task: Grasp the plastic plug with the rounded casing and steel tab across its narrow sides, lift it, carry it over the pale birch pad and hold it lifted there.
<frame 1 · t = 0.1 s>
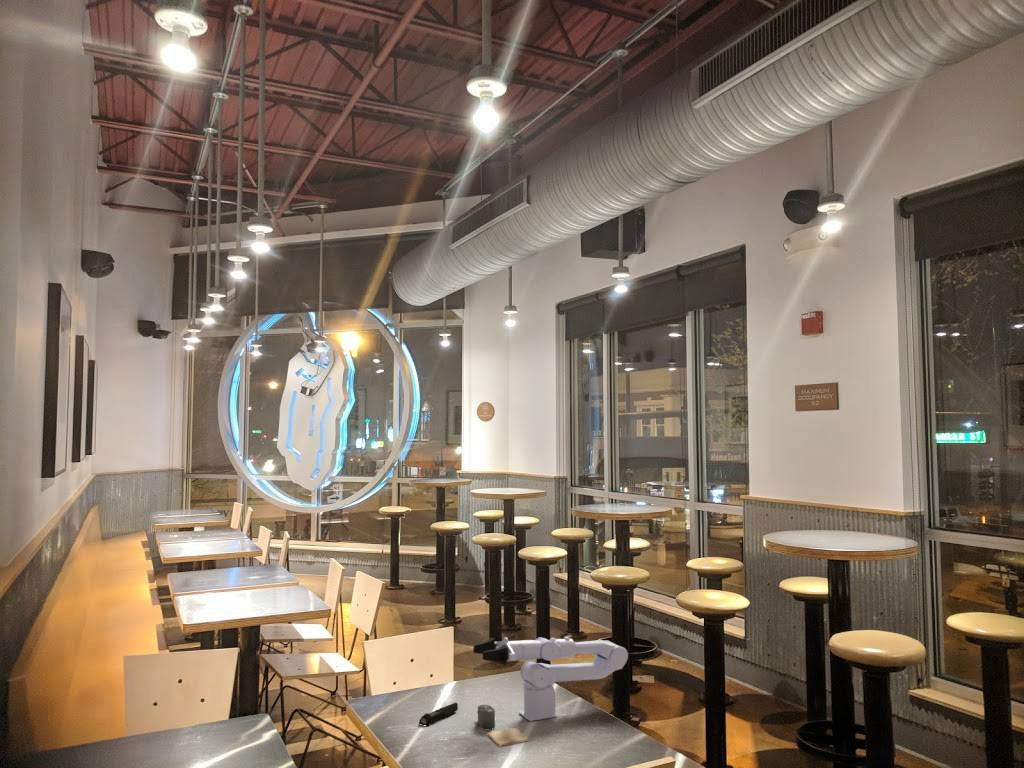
hand: (478, 652, 227), 22 cm above the table, tool horizontal, fingers open, 7 cm apart
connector: (486, 725, 226), on the table
pad: (507, 738, 216), on the table
electric trimmer: (438, 719, 232), on the table
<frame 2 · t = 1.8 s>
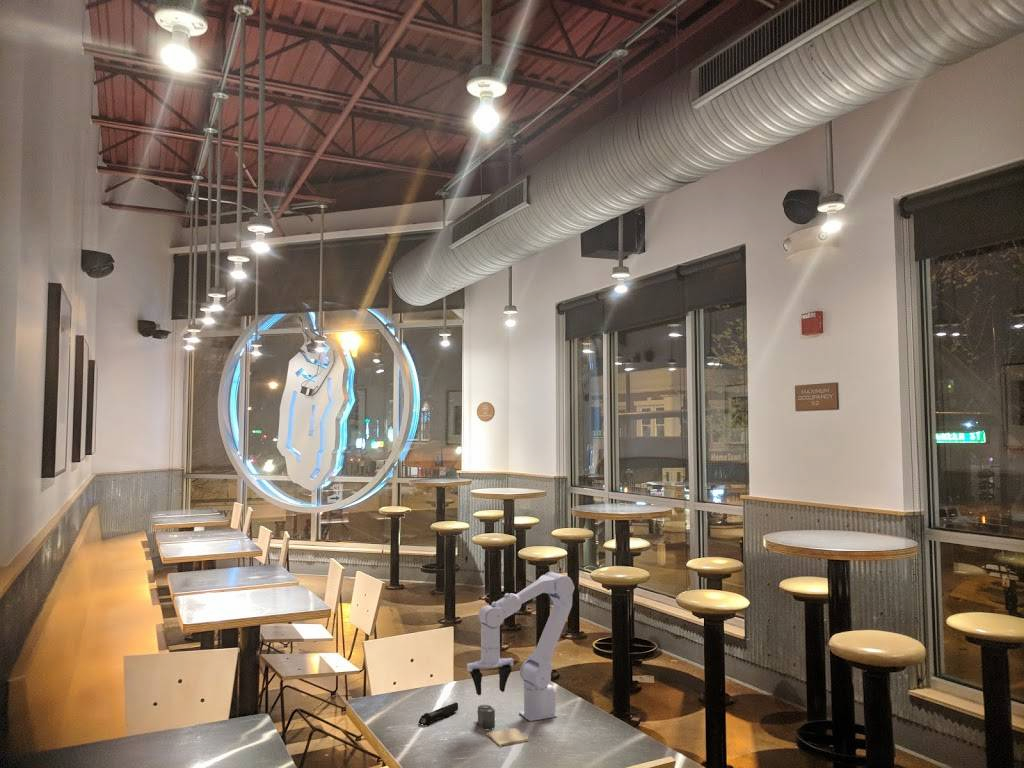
hand: (490, 692, 227), 9 cm above the table, tool pointing down, fingers open, 7 cm apart
nothing on the table moved.
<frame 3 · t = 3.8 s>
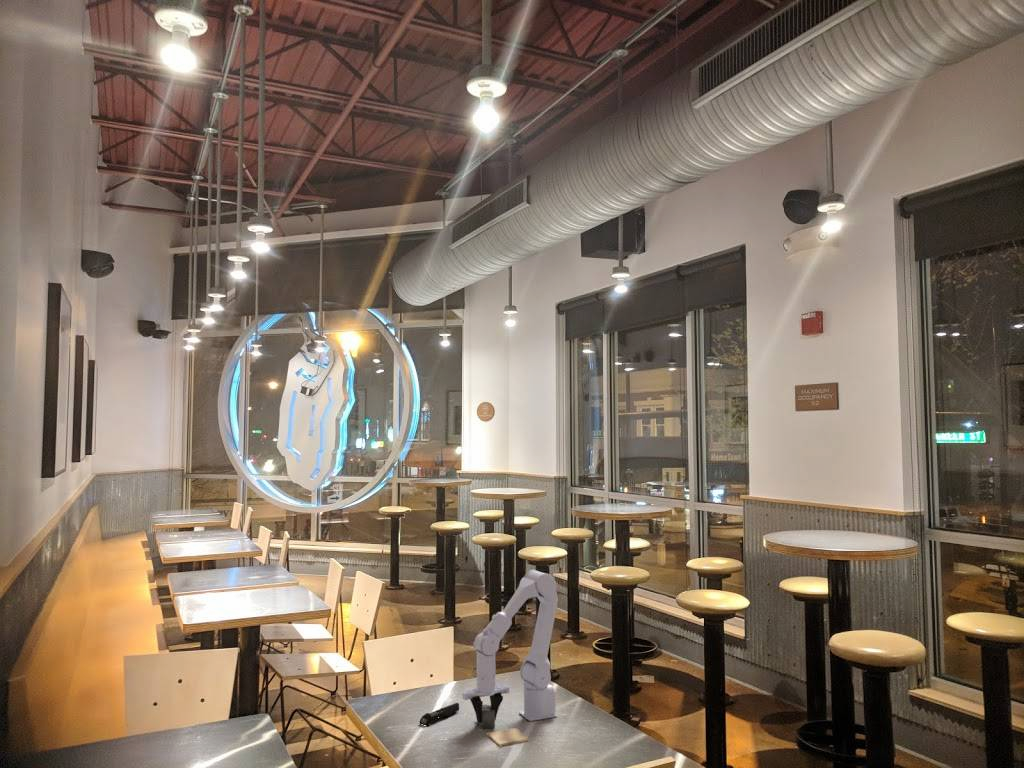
hand: (486, 720, 226), 1 cm above the table, tool pointing down, fingers closed on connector, 4 cm apart
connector: (486, 725, 226), on the table, touching gripper
everything else where it was.
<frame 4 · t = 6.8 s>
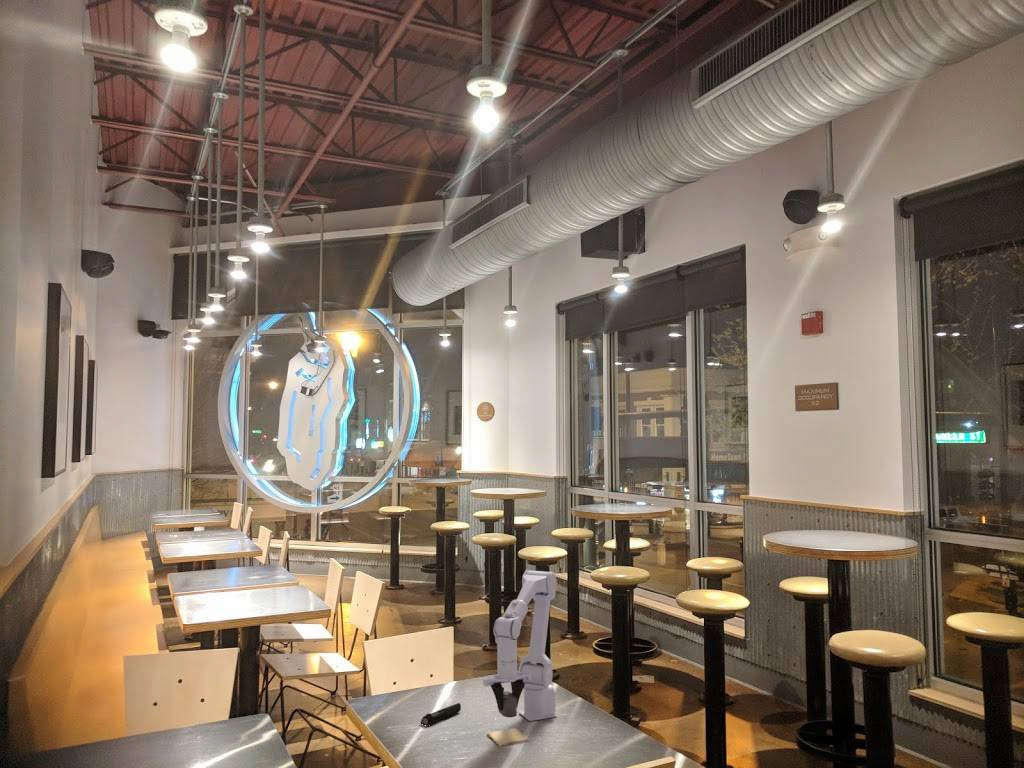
hand: (507, 708, 217), 8 cm above the table, tool pointing down, fingers closed on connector, 4 cm apart
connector: (507, 713, 217), point 7 cm above the table, touching gripper
everything else where it was.
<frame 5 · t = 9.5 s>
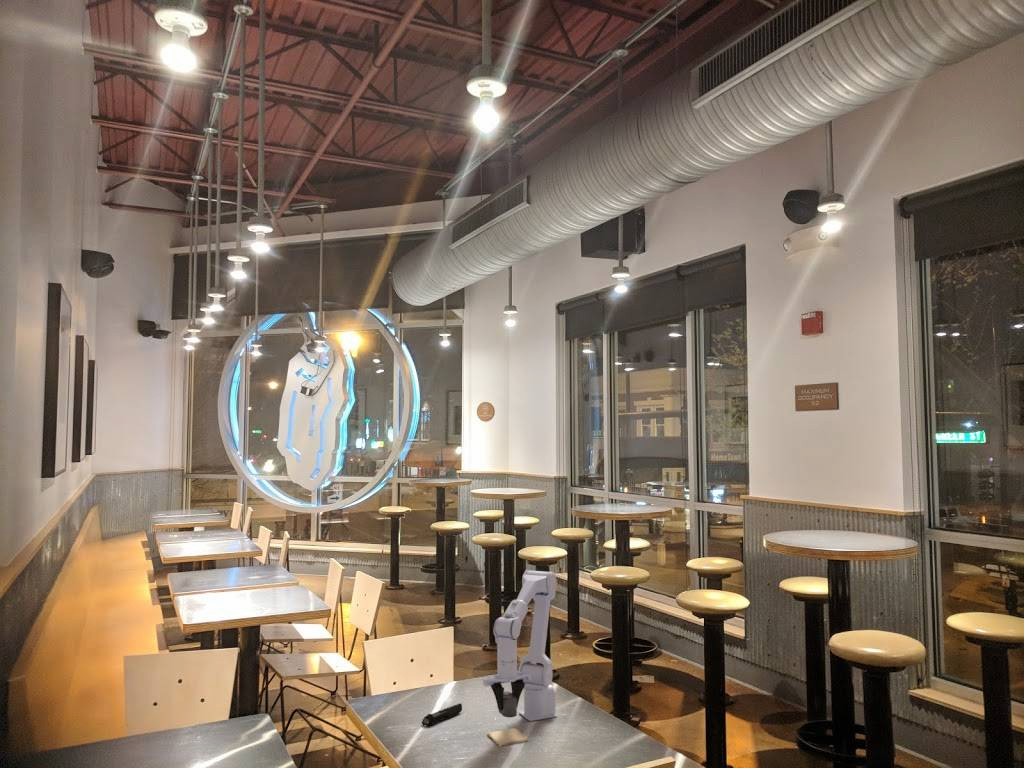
hand: (507, 708, 217), 8 cm above the table, tool pointing down, fingers closed on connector, 4 cm apart
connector: (507, 713, 217), point 7 cm above the table, touching gripper
at the end: the gripper is holding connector; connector inside the target area on the pad (0.0 cm from its centre), point 7.0 cm above the pad's base; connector touching gripper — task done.
